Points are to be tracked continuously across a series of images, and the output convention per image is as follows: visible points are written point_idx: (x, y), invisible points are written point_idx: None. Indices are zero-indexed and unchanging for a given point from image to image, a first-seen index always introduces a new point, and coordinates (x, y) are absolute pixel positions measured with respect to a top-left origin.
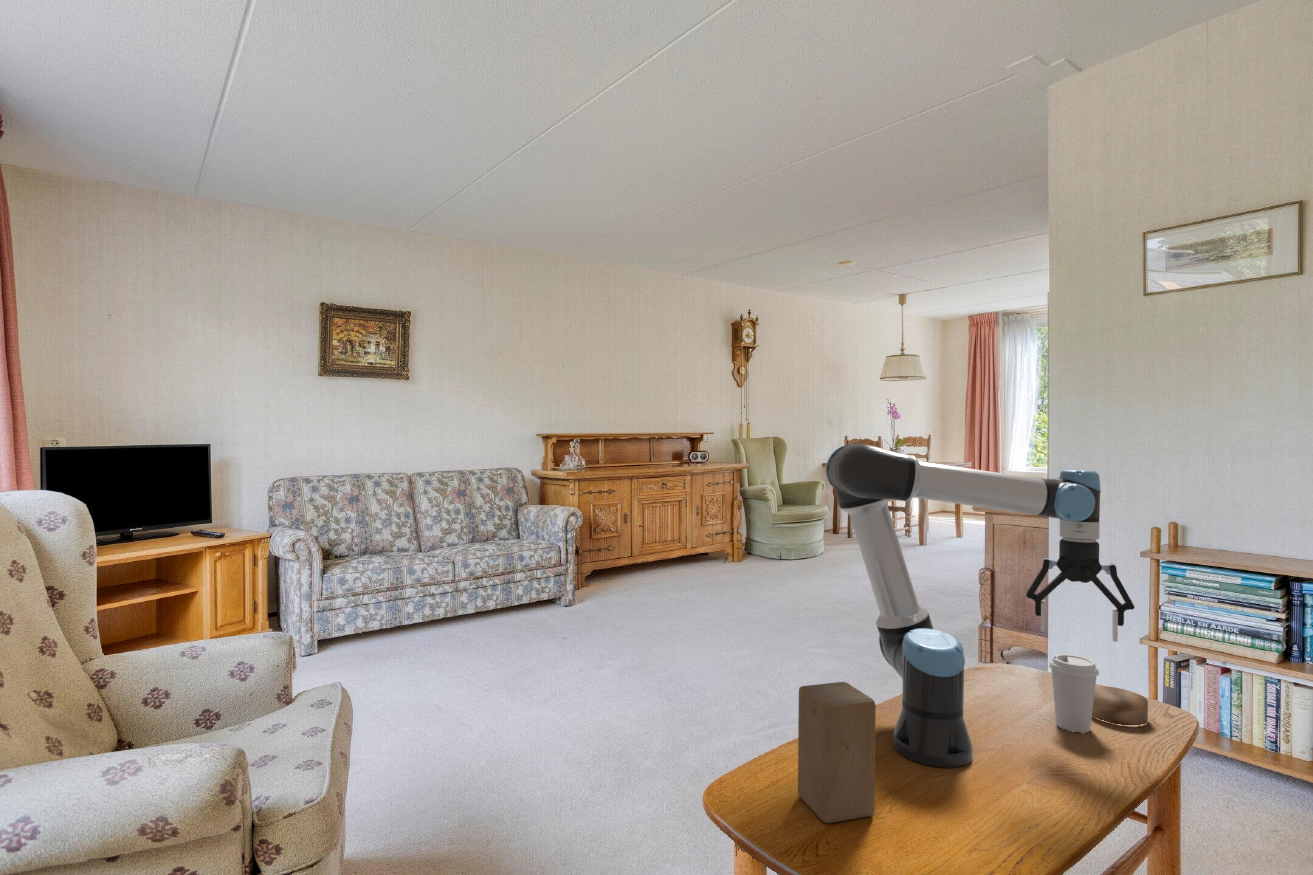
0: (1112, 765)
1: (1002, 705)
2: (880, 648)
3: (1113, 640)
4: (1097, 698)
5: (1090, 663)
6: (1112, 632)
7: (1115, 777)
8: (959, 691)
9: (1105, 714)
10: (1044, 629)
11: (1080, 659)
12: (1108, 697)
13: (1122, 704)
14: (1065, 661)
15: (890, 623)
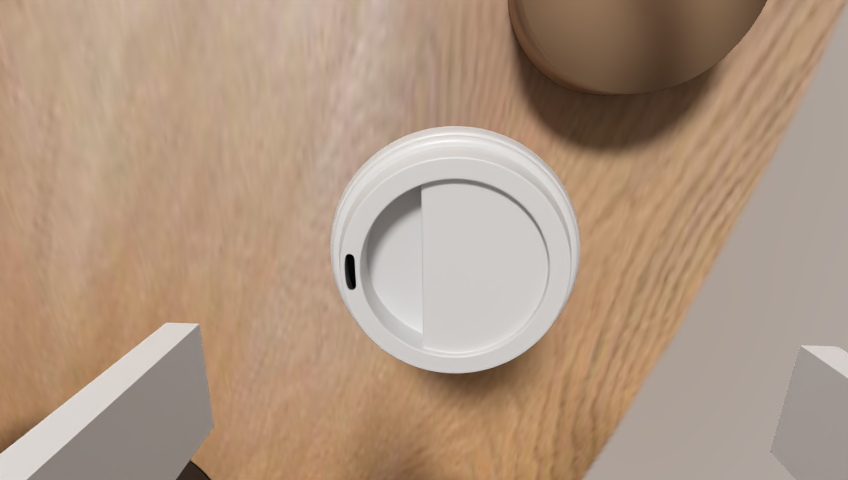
0: (524, 412)
1: (228, 100)
2: None
3: (776, 457)
4: (556, 58)
5: (545, 271)
6: (846, 415)
7: (520, 470)
8: None
9: (569, 84)
10: (200, 443)
11: (497, 210)
12: (607, 15)
13: (646, 86)
14: (413, 189)
15: None
